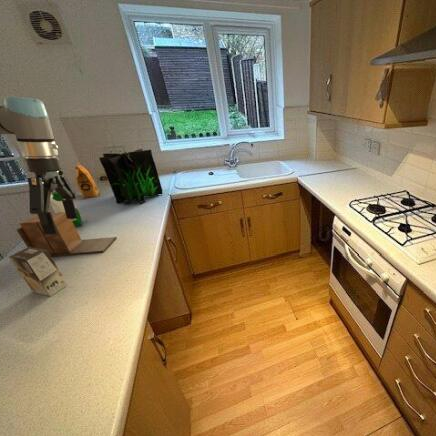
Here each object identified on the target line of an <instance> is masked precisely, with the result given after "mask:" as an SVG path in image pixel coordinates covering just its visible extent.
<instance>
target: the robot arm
mask: <svg viewBox="0 0 436 436" xmlns="http://www.w3.org/2000/svg"><path fill="white" fill-rule="evenodd" d="M1 135H15V139H16V142H17V145H18V148H19V151H20V154H21V156H22V157H23V163H24V167H25V169H26V171H27V172H29V173H33V174H34V177H27V183H28V191H29V192H28V195H29V197H28V198H29V199H28V200H29V213H30V214H31V215H35V214H38V217H39V220H40V223H41V226H42V229H43V232H44V235H45V234H56V233H57V229H56V226H55V223H54V220H53V217H52V214H51V213H52V211H50V204H51V203H50V196H51V195H52V193H53V192H57V193H58V194H59V195H60V196H61V197H62V198H63V199H65V200H62V203H63V206H64V209H65V213H66V216H67V219H73V218H78V215H77V212H76V208H75V205H74V202H75V200H76V199H77V195H76V192H75V190H74V189H73V187H72V184H71V183H70V182H69V180H68V178H67V177H66V174H65V171H64V170H63V164H62V161H61V158H60V157H58V156H59V151H58V149H59V146H58V145H57V144H56V140H55V137H54V133H53V129H52V126H51V122H50V117H49V114H48V112H47V109H46V106H45V104H44V102H43V101H41V100H40V99H37V98H31V97H21V96H20V97H19V96H5V97H4V98H3V105H2V104H0V136H1ZM73 200H74V201H73Z"/></svg>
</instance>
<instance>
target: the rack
mask: <svg viewBox="0 0 436 436" xmlns="http://www.w3.org/2000/svg"><path fill="white" fill-rule="evenodd" d="M51 214H52V217H53V220H54V223H55V226H56V229H57V233H56V234H45V235H44V232H43V229H42V226H41V223H40V220H39V217H38V214H32V215H31V216H29V217H28V218H26V219H25V220H23V221H21V222H19V225H20V226H19V227H18V228H16V232H17V233H18V235H19V236H20V238H21V239H22V242H23V243H24V244H25V246H26V248H28V247H32V248H38V249H44V250H47V251H48V252H49V254H50V256H51V257H52V258H58V257H68V256H82V255H92V254H103V253H105V252H106V251H107V250H108V248H109V247H110V246H111V245H112V244H113V243H114V242H115V241H116V240H117V236H113V237H112V236H111V237H100V238H99V237H98V238H97V237H96V238H86V239H82V238H81V236H80V234H79V232H78V230H77V227H75V226H74V224H73V222H72V220H71V219H67V216H66V213H65V212H55V211H54V212H51Z"/></svg>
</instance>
